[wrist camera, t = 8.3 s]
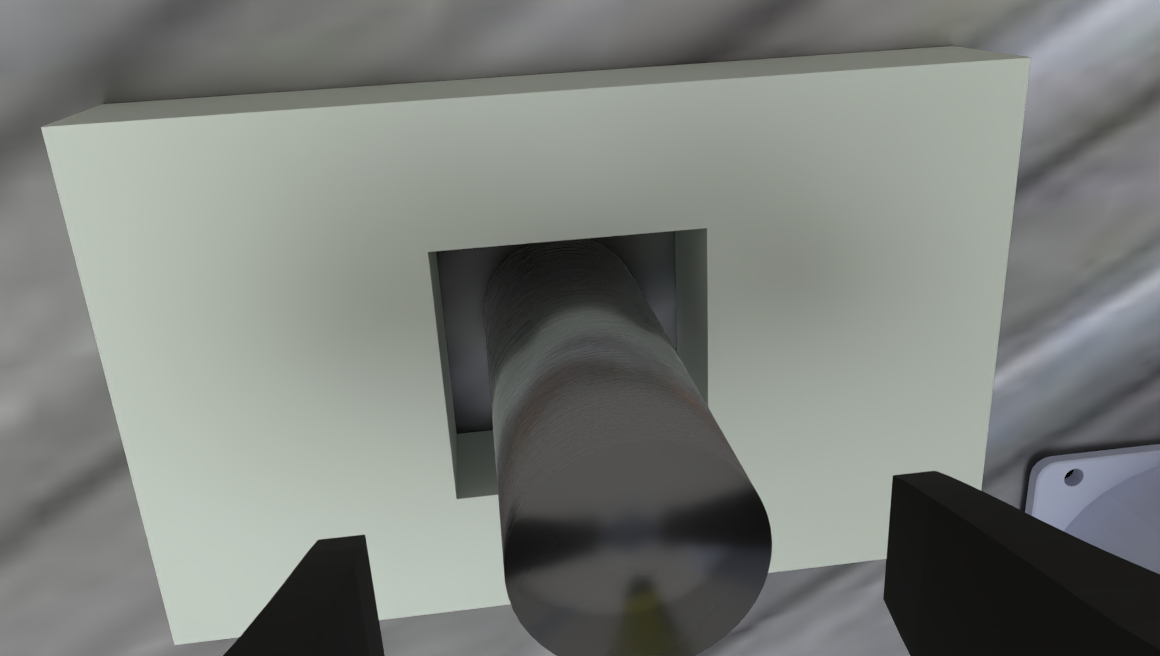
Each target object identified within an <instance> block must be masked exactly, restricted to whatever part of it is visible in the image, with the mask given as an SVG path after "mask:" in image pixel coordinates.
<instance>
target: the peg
mask: <svg viewBox="0 0 1160 656" xmlns="http://www.w3.org/2000/svg"><path fill="white" fill-rule="evenodd" d="M484 318H485V331H486V344H487V357H488V370H489V383H490V396H491V409H492V422H493V435H494V448H495V461H496V474H497V487H498V500H499V513H500V525H501V538H502V551H503V564H504V577H505V585H506V590H507V594H508V598H509V600H510V603H511V605H512V608H513V610H514V612H515V614H516V616H517V617H518V619H519V621H520V622H521V624H522V625H523V626H524V628H525V629H526V630H527V631H528V633H529V634H530V635H531V636H532V637H533V638H534V639H535V640H536V641H538V642H539V643H540V644H541V645H542V646H543V647H545V648H546V649H548V650H549V651H551V652H552V653H554V654H555V655H557V656H695V655H697V654H699V653H700V652H702V651H704V650H706V649H707V648H709V647H711V646H712V645H714V644H715V643H716V642H718V641H719V640H720V639H722V638H723V637H725V636H726V635H727V634H728V633H729V632H730V631H731V630H732V629H733V628H734V627H736V626H737V625H738V623H739V622H740V621H741V620H742V619H743V618H744V617H745V615H746V614H747V613H748V611H749V610H750V609H751V607H752V606H753V604H754V603H755V601H756V600H757V598H758V596H759V594H760V592H761V590H762V588H763V586H764V583H765V580H766V577H767V574H768V571H769V566H770V561H771V554H772V535H771V527H770V523H769V519H768V515H767V512H766V510H765V507H764V505H763V503H762V500H761V498H760V497H759V495H758V493H757V491H756V490H755V488H754V486H753V485H752V483H751V481H750V479H749V478H748V476H747V474H746V472H745V471H744V469H743V467H742V465H741V464H740V462H739V460H738V458H737V457H736V455H735V453H734V451H733V450H732V448H731V446H730V444H729V443H728V441H727V439H726V438H725V436H724V434H723V432H722V431H721V429H720V427H719V425H718V424H717V422H716V420H715V418H714V417H713V415H712V413H711V411H710V410H709V408H708V406H707V404H706V403H705V401H704V399H703V397H702V396H701V394H700V392H699V390H698V389H697V387H696V385H695V384H694V382H693V380H692V378H691V377H690V375H689V373H688V371H687V370H686V368H685V366H684V364H683V363H682V361H681V359H680V357H679V356H678V354H677V352H676V350H675V349H674V347H673V345H672V343H671V342H670V340H669V338H668V336H667V335H666V333H665V331H664V330H663V328H662V326H661V324H660V323H659V321H658V319H657V317H656V316H655V314H654V312H653V310H652V309H651V307H650V305H649V303H648V302H647V300H646V298H645V296H644V295H643V293H642V291H641V289H640V288H639V286H638V284H637V283H636V281H635V279H634V277H633V276H632V274H631V272H630V271H629V269H628V267H627V266H626V264H625V263H624V262H623V261H622V259H621V258H620V257H619V256H618V255H617V254H616V253H614V252H613V251H612V250H611V249H609V248H608V247H606V246H605V245H603V244H601V243H599V242H597V241H595V240H592V239H589V238H586V239H574V240H562V241H550V242H539V243H527V244H525V245H523V246H521V247H520V248H518V249H517V250H515V251H514V252H513V253H512V254H510V255H509V256H508V257H507V258H506V259H505V260H504V261H503V262H502V263H501V265H500V266H499V267H498V269H497V270H496V272H495V273H494V275H493V277H492V279H491V281H490V283H489V286H488V289H487V292H486V297H485V303H484Z"/></svg>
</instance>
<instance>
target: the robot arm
mask: <svg viewBox="0 0 1160 656" xmlns="http://www.w3.org/2000/svg"><path fill="white" fill-rule="evenodd" d="M1073 469H1074V471H1073V473H1072V474H1071V475H1070V476H1069V477H1068V478H1065V476H1066V474H1067V473H1068V472H1069V471H1070V470H1073ZM1064 478H1065V479H1064ZM884 601H885V603H886V605H887V607H888V609H889V612H890V614H891V616H892V618H893V620H894V623H895V625H896V627H897V629H898V631H899V633H900V635H901V637H902V639H903V641H904V643H905V645H906V647H907V649H908V651H909V653H910V655H911V656H1160V444H1155V445H1146V446H1137V447H1128V448H1119V449H1111V450H1102V451H1093V452H1084V453H1075V454H1066V455H1057V456H1050V457H1046V458H1043V459H1042V460H1040V461H1039V462H1037V463H1036V464H1035V466H1034V467H1033V468H1032V471H1031V474H1030V479H1029V486H1028V493H1027V501H1026V508H1025V512H1023V511H1021V510H1019V509H1017V508H1015V507H1013V506H1011V505H1009V504H1007V503H1005V502H1003V501H1001V500H999V499H997V498H995V497H993V496H991V495H989V494H987V493H985V492H983V491H981V490H979V489H976V488H974V487H972V486H970V485H968V484H966V483H964V482H962V481H959V480H957V479H955V478H953V477H950V476H948V475H945V474H943V473H940V472H938V471H927V472H918V473H909V474H901V475H893V479H892V493H891V506H890V519H889V533H888V546H887V559H886V573H885V586H884ZM223 656H384V650H383V643H382V637H381V631H380V625H379V618H378V612H377V606H376V600H375V593H374V587H373V581H372V575H371V568H370V562H369V556H368V549H367V543H366V537H365V535H356V536H347V537H338V538H329V539H320V540H317V542H316V543H315V544H314V545H313V546H312V547H311V548H310V550H309V551H308V552H307V553H306V555H305V556H304V557H303V558H302V560H301V561H300V562H299V564H298V565H297V566H296V568H295V569H294V570H293V571H292V573H291V574H290V575H289V577H288V578H287V579H286V581H285V582H284V583H283V584H282V586H281V587H280V588H279V590H278V591H277V592H276V593H275V595H274V596H273V597H272V598H271V600H270V601H269V602H268V603H267V605H266V606H265V607H264V608H263V610H262V611H261V612H260V613H259V614H258V616H257V617H256V618H255V619H254V620H253V622H252V623H251V624H250V625H249V626H248V628H247V629H246V630H245V631H244V632H243V634H242V635H241V636H240V637H239V638H238V640H237V641H236V642H235V643H234V644H233V645H232V647H231V648H230V649H229V650H228V651H227V652H226V653H225V654H224V655H223Z"/></svg>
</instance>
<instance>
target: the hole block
mask: <svg viewBox="0 0 1160 656" xmlns="http://www.w3.org/2000/svg"><path fill="white" fill-rule="evenodd" d="M1030 61H1031V57H1024V56H1017V55H1011V54H1004V53H997V52H991V51H984V50H977V49H971V48H964V47H957V46H946V47H931V48H916V49H902V50H887V51H873V52H858V53H843V54H829V55H814V56H800V57H785V58H770V59H756V60H741V61H727V62H712V63H697V64H683V65H668V66H654V67H639V68H624V69H610V70H595V71H581V72H566V73H552V74H537V75H522V76H508V77H493V78H479V79H464V80H449V81H435V82H420V83H406V84H391V85H376V86H362V87H347V88H333V89H318V90H303V91H289V92H274V93H260V94H245V95H230V96H216V97H201V98H187V99H172V100H158V101H143V102H128V103H114V104H102V105H99V106H96V107H94V108H91V109H88V110H86V111H83V112H80V113H78V114H75V115H72V116H70V117H67V118H64V119H62V120H59V121H56V122H53V123H51V124H48V125H45V126H43V127H41V129H42V133H43V137H44V140H45V144H46V148H47V152H48V156H49V160H50V164H51V168H52V171H53V175H54V179H55V183H56V187H57V191H58V195H59V199H60V202H61V206H62V210H63V214H64V218H65V222H66V226H67V230H68V233H69V237H70V241H71V245H72V249H73V253H74V257H75V261H76V264H77V268H78V272H79V276H80V280H81V284H82V288H83V292H84V295H85V299H86V303H87V307H88V311H89V315H90V319H91V323H92V326H93V330H94V334H95V338H96V342H97V346H98V350H99V354H100V357H101V361H102V365H103V369H104V373H105V377H106V381H107V385H108V388H109V392H110V396H111V400H112V404H113V408H114V412H115V416H116V419H117V423H118V427H119V431H120V435H121V439H122V443H123V447H124V450H125V454H126V458H127V462H128V466H129V470H130V474H131V478H132V482H133V485H134V489H135V493H136V497H137V501H138V505H139V509H140V513H141V516H142V520H143V524H144V528H145V532H146V536H147V540H148V544H149V547H150V551H151V555H152V559H153V563H154V567H155V571H156V575H157V578H158V582H159V586H160V590H161V594H162V598H163V602H164V606H165V609H166V613H167V617H168V621H169V625H170V629H171V633H172V637H173V640H174V644H175V645H178V644H187V643H195V642H203V641H211V640H220V639H228V638H236V637H240V636H241V635H242V634H243V632H244V631H245V630H246V629H247V628H248V626H249V625H250V624H251V623H252V622H253V620H254V619H255V618H256V617H257V616H258V614H259V613H260V612H261V611H262V610H263V608H264V607H265V606H266V605H267V603H268V602H269V601H270V600H271V598H272V597H273V596H274V595H275V593H276V592H277V591H278V590H279V588H280V587H281V586H282V584H283V583H284V582H285V581H286V579H287V578H288V577H289V575H290V574H291V573H292V571H293V570H294V569H295V568H296V566H297V565H298V564H299V562H300V561H301V560H302V558H303V557H304V556H305V555H306V553H307V552H308V551H309V550H310V548H311V547H312V546H313V545H314V544H315V543H316V542H317V540H320V539H329V538H338V537H347V536H356V535H365V537H366V543H367V549H368V556H369V562H370V568H371V575H372V581H373V587H374V593H375V600H376V606H377V612H378V618H379V620H385V619H393V618H401V617H409V616H418V615H426V614H434V613H442V612H451V611H459V610H467V609H475V608H484V607H492V606H500V605H508V604H511V603H510V600H509V598H508V594H507V590H506V585H505V577H504V564H503V551H502V538H501V525H500V513H499V500H498V487H497V474H496V461H495V448H494V435H493V430H490V431H481V432H471V433H461V434H457V432H456V423H455V414H454V406H453V397H452V388H451V379H450V370H449V361H448V353H447V344H446V335H445V326H444V317H443V309H442V300H441V291H440V282H439V273H438V264H437V256H436V251H445V250H457V249H468V248H480V247H492V246H504V245H515V244H527V243H539V242H550V241H562V240H574V239H586V238H597V237H609V236H621V235H632V234H644V233H656V232H668V231H675V265H676V320H677V354H678V356H679V357H680V359H681V361H682V363H683V364H684V366H685V368H686V370H687V371H688V373H689V375H690V377H691V378H692V380H693V382H694V384H695V385H696V387H697V389H698V390H699V392H700V394H701V396H702V397H703V399H704V401H705V403H706V404H707V406H708V408H709V410H710V411H711V413H712V415H713V417H714V418H715V420H716V422H717V424H718V425H719V427H720V429H721V431H722V432H723V434H724V436H725V438H726V439H727V441H728V443H729V444H730V446H731V448H732V450H733V451H734V453H735V455H736V457H737V458H738V460H739V462H740V464H741V465H742V467H743V469H744V471H745V472H746V474H747V476H748V478H749V479H750V481H751V483H752V485H753V486H754V488H755V490H756V491H757V493H758V495H759V497H760V498H761V500H762V503H763V505H764V507H765V510H766V512H767V515H768V519H769V523H770V527H771V535H772V554H771V561H770V566H769V571H768V573H772V572H781V571H789V570H797V569H805V568H814V567H822V566H830V565H838V564H847V563H855V562H863V561H871V560H880V559H887V546H888V533H889V519H890V506H891V493H892V479H893V475H901V474H909V473H918V472H927V471H938V472H940V473H943V474H945V475H948V476H950V477H953V478H955V479H957V480H959V481H962V482H964V483H966V484H968V485H970V486H972V487H974V488H976V489H979V490H981V488H982V479H983V470H984V462H985V453H986V444H987V436H988V427H989V418H990V410H991V401H992V392H993V383H994V375H995V366H996V357H997V349H998V340H999V331H1000V322H1001V314H1002V305H1003V296H1004V288H1005V279H1006V270H1007V261H1008V253H1009V244H1010V235H1011V227H1012V218H1013V209H1014V201H1015V192H1016V183H1017V174H1018V166H1019V157H1020V148H1021V140H1022V131H1023V122H1024V113H1025V105H1026V96H1027V87H1028V79H1029V70H1030Z"/></svg>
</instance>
